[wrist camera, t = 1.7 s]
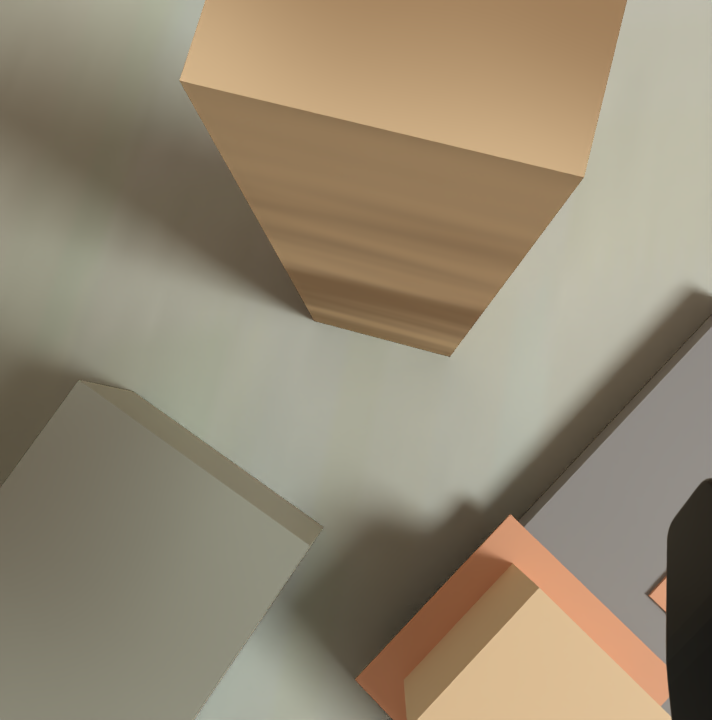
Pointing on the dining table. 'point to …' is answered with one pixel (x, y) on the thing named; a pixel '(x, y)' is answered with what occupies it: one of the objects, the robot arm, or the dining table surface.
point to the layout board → (567, 580)
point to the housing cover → (132, 564)
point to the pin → (403, 143)
